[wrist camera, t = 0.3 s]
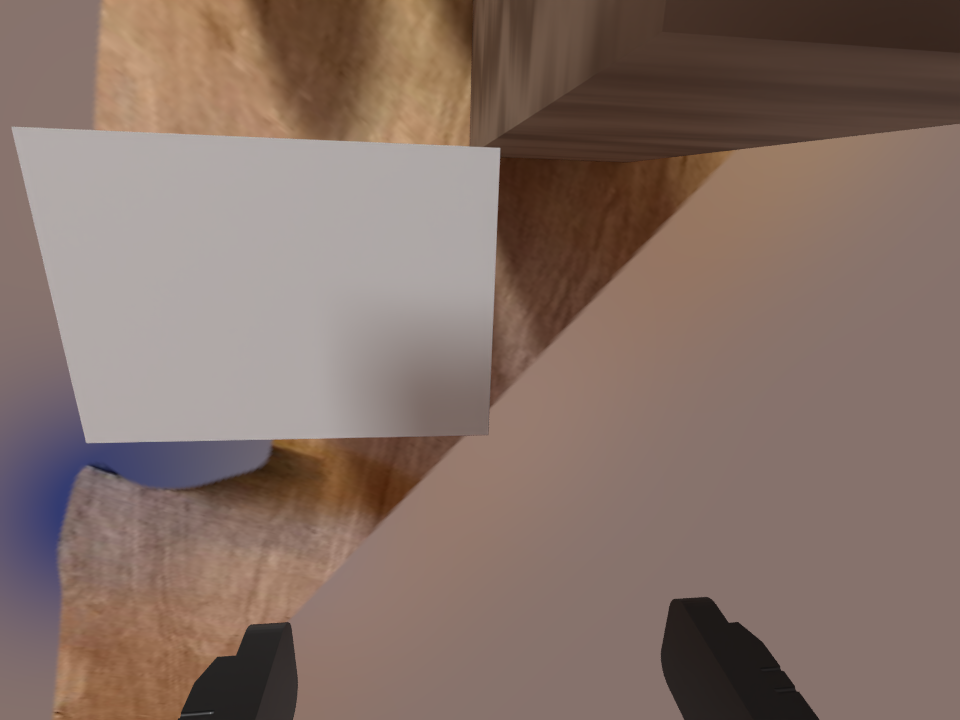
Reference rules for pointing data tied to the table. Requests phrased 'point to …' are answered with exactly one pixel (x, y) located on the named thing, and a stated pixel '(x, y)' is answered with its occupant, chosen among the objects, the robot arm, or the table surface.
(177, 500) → the table surface
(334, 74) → the table surface
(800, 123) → the walnut stand
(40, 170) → the grey pedestal
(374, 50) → the table surface
